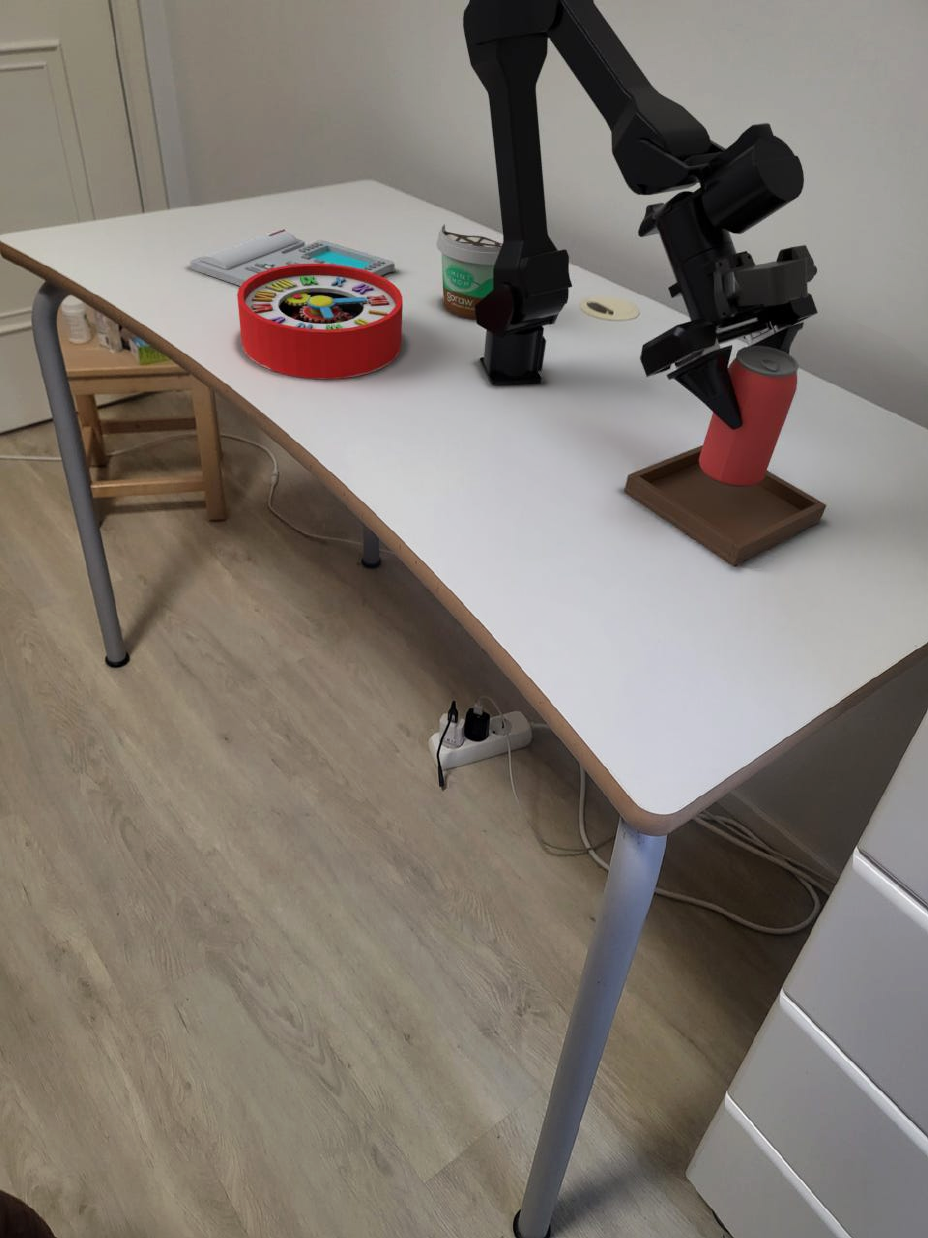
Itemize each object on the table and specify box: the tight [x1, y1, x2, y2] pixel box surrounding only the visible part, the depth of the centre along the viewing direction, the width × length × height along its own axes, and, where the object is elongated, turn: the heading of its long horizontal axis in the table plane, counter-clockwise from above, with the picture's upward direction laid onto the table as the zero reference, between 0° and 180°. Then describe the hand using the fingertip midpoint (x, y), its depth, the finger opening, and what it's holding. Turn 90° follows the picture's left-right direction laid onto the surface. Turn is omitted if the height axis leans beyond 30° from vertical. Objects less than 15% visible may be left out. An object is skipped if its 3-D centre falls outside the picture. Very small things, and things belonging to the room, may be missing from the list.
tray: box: [623, 444, 827, 567], centre depth 89 cm, size 15×14×2 cm
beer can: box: [699, 345, 799, 487], centre depth 84 cm, size 7×7×12 cm
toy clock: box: [236, 264, 404, 380], centre depth 110 cm, size 20×6×20 cm
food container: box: [435, 223, 503, 321], centre depth 119 cm, size 12×6×10 cm, turn 68°
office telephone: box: [189, 228, 396, 287], centre depth 128 cm, size 23×3×20 cm
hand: (761, 418), depth 82 cm, fingers closed on beer can, 6 cm apart
